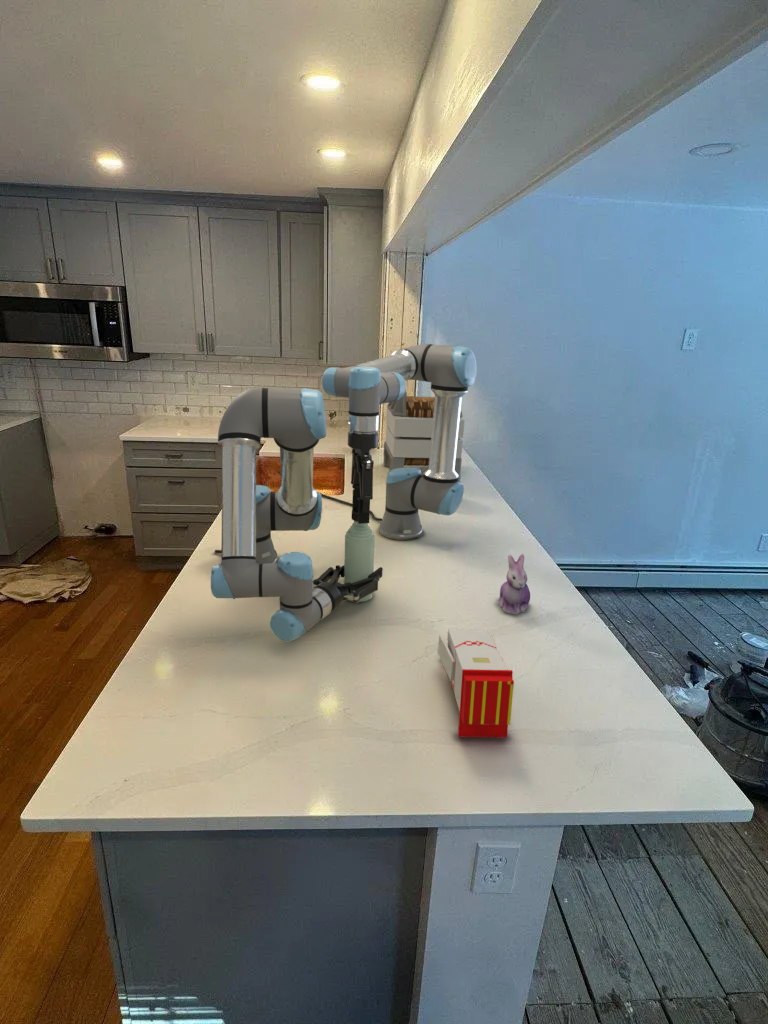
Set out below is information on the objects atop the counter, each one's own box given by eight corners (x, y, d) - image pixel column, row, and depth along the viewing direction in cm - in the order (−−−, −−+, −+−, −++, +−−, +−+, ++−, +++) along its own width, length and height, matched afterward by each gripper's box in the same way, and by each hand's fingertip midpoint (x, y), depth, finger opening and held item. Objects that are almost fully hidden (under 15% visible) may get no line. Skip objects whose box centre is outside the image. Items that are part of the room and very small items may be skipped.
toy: (488, 613, 130) (523, 677, 101) (484, 667, 133) (517, 744, 104) (435, 612, 130) (455, 676, 101) (432, 666, 133) (451, 743, 103)
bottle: (377, 598, 155) (380, 516, 147) (350, 604, 151) (352, 520, 143) (365, 586, 161) (368, 506, 153) (339, 591, 158) (340, 510, 150)
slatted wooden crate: (382, 463, 289) (386, 382, 275) (445, 464, 293) (451, 384, 279) (390, 482, 257) (394, 392, 243) (460, 483, 261) (468, 394, 247)
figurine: (512, 619, 147) (519, 566, 142) (488, 601, 156) (494, 551, 151) (540, 611, 151) (548, 560, 146) (515, 594, 160) (522, 546, 155)
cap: (365, 515, 152) (366, 506, 151) (372, 521, 148) (372, 512, 147) (349, 516, 150) (349, 507, 149) (354, 522, 146) (355, 513, 145)
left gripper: (287, 603, 145) (336, 571, 164) (356, 626, 136) (400, 589, 155) (286, 576, 143) (336, 547, 162) (357, 599, 133) (401, 564, 152)
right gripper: (340, 423, 149) (339, 506, 157) (356, 440, 131) (354, 532, 139) (368, 423, 151) (365, 504, 159) (388, 439, 133) (384, 530, 141)
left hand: (367, 568), depth 158 cm, fingers closed on bottle, 8 cm apart
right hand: (360, 517), depth 149 cm, fingers open, 7 cm apart
